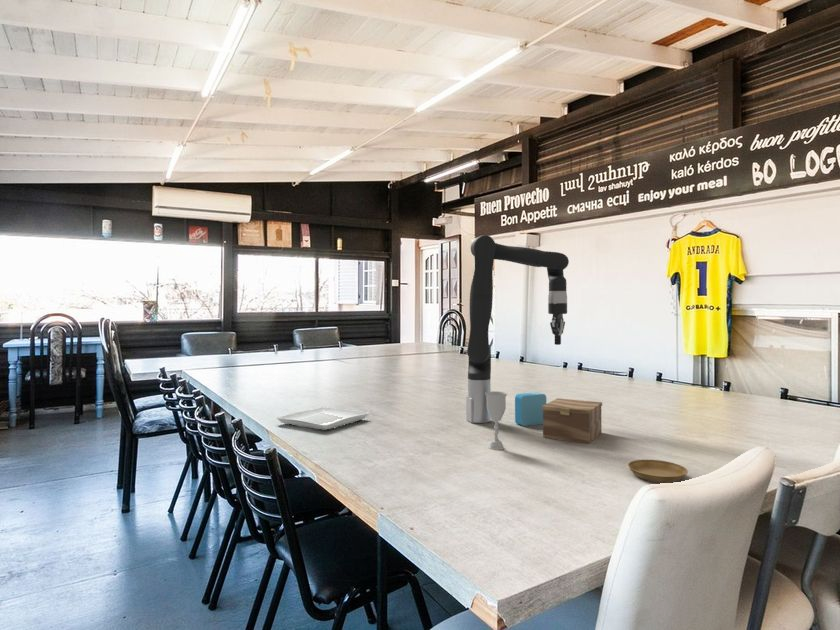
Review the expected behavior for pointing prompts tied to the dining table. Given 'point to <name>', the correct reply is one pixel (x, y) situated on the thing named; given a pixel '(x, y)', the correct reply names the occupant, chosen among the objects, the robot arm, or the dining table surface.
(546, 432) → the walnut box
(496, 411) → the chalice
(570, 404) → the walnut lid
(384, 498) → the dining table surface
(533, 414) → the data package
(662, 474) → the plant saucer
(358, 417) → the square plate
